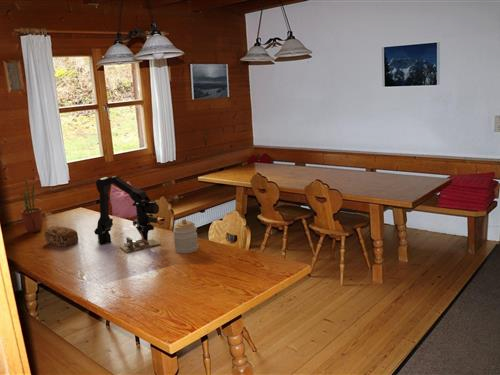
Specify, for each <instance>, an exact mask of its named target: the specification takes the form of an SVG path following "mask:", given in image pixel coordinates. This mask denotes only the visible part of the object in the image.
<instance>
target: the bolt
mask: <svg viewBox="0 0 500 375" xmlns="http://www.w3.org/2000/svg"><path fill="white" fill-rule="evenodd" d="M148 236H149V235H148ZM148 236H147V240H145V239H144V237H143V235H142V233H141V235H140V237H141V238H140V239H137V240H132V241H133V245H135V244H139V243H143V242H147V241H148V240H149V238H148ZM123 246H125V247H127V246H130V243H129V242H128V243H127V242H124V243H123Z"/></svg>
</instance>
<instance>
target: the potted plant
mask: <svg viewBox="0 0 500 375" xmlns="http://www.w3.org/2000/svg"><path fill="white" fill-rule="evenodd" d="M24 181H25V185H24V187H26V191H25V192H23V197H22V198H20V199H19V202H20V203H21V202H22V201H24V205H23V209H21V210H20V211H19V212H20V215H21V217H22V222H23V227H24V229H25V230H26V231H27V232H28V233H31V234H34V232H35V233H37V232H39V231H41V230H42V228H43V225H44V224H43V221H44V220H43V215H42V214H43V213H42V210H43V209H42V208H41V207H35V200H36V201H40V202H42V200H41V199H38V198H35V197H34V196H35V192H37V190H36V189H35V188H36V187H35V184H34V183H33V184H32V188H31V195H30V190H29V188H30V187H31V186H30V185H29V184H28V181H29V182H30V180H29V179H25V180H24ZM31 199H32V203H31Z"/></svg>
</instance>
